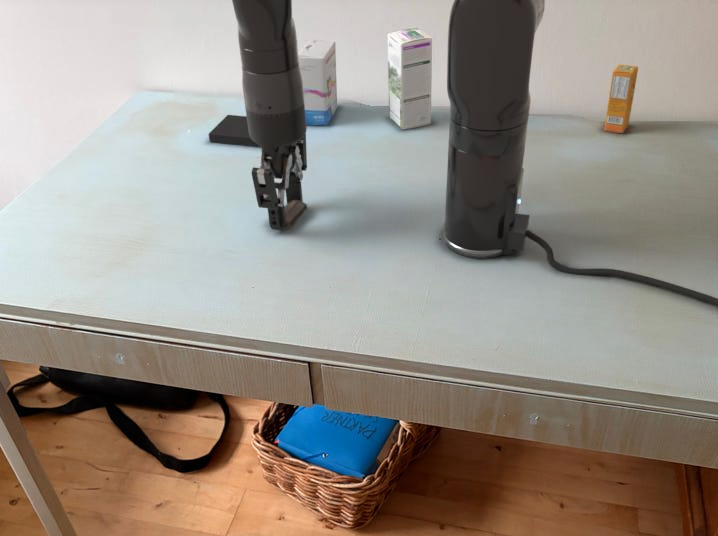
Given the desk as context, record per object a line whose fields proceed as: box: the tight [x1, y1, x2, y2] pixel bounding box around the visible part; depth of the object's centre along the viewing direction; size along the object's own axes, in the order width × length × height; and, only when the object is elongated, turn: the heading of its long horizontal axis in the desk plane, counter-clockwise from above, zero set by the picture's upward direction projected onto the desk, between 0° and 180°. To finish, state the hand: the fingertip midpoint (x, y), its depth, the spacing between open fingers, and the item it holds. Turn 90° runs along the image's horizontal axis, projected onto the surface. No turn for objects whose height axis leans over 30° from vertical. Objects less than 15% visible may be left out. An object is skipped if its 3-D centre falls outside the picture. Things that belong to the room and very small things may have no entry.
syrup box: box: [387, 27, 433, 130], centre depth 125 cm, size 6×6×14 cm
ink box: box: [298, 39, 338, 127], centre depth 129 cm, size 9×5×12 cm, turn 168°
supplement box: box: [603, 64, 639, 134], centre depth 121 cm, size 3×3×10 cm
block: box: [284, 200, 308, 230], centre depth 105 cm, size 4×6×2 cm, turn 154°
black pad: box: [208, 114, 261, 148], centre depth 127 cm, size 10×8×2 cm
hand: (287, 215), depth 106 cm, fingers closed on block, 6 cm apart
